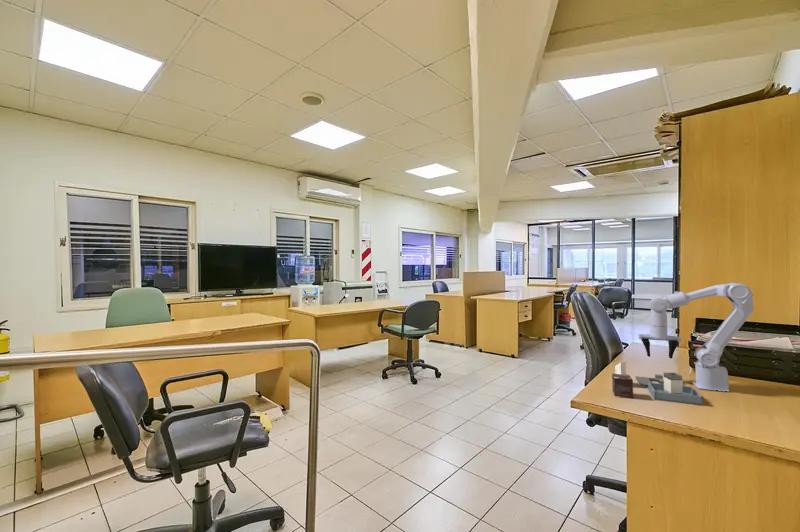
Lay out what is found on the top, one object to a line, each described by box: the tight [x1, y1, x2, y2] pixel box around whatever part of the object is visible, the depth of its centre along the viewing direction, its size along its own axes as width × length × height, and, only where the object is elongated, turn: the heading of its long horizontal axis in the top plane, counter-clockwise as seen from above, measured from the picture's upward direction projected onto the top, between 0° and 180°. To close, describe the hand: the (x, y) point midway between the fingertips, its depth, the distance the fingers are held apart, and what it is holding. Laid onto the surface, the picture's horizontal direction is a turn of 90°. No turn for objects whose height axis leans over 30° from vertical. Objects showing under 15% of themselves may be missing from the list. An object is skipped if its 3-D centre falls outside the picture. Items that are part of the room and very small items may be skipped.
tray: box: [647, 382, 704, 406], centre depth 127 cm, size 14×11×3 cm
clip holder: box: [635, 373, 687, 388], centre depth 140 cm, size 16×11×3 cm
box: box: [611, 373, 634, 399], centre depth 131 cm, size 6×6×7 cm
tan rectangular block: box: [663, 372, 683, 394], centre depth 128 cm, size 4×4×8 cm
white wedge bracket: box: [614, 361, 627, 375], centre depth 142 cm, size 4×10×9 cm
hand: (659, 356), depth 145 cm, fingers open, 7 cm apart
